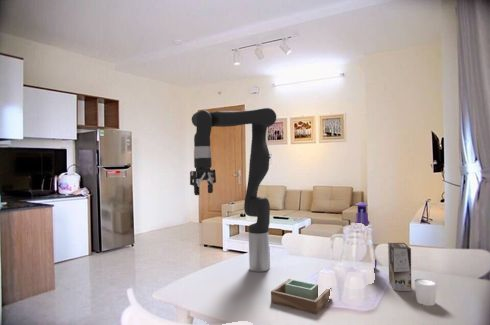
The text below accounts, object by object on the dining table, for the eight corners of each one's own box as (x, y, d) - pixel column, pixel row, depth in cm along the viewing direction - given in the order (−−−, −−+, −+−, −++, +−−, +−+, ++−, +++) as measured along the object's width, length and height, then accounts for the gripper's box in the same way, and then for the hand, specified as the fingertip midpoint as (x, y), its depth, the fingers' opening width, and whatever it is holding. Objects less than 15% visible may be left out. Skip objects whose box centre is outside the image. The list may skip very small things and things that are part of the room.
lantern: (350, 262, 160) (348, 199, 159) (376, 264, 156) (374, 200, 155) (349, 271, 147) (347, 203, 147) (377, 273, 143) (376, 204, 143)
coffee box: (412, 291, 124) (411, 248, 124) (393, 290, 125) (393, 248, 125) (405, 282, 133) (404, 242, 132) (388, 281, 134) (387, 241, 134)
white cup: (410, 298, 118) (410, 278, 118) (429, 297, 119) (428, 277, 119) (422, 307, 111) (422, 286, 111) (442, 305, 112) (441, 285, 112)
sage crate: (292, 292, 124) (292, 279, 124) (317, 298, 118) (317, 284, 118) (285, 297, 120) (285, 284, 119) (311, 304, 114) (311, 289, 114)
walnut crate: (289, 289, 129) (289, 278, 129) (331, 298, 120) (331, 287, 120) (271, 302, 118) (270, 291, 118) (316, 314, 108) (316, 302, 108)
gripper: (207, 156, 153) (208, 192, 153) (184, 157, 141) (185, 195, 142) (219, 156, 149) (220, 192, 149) (197, 157, 137) (199, 196, 137)
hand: (203, 194), depth 145 cm, fingers open, 8 cm apart
